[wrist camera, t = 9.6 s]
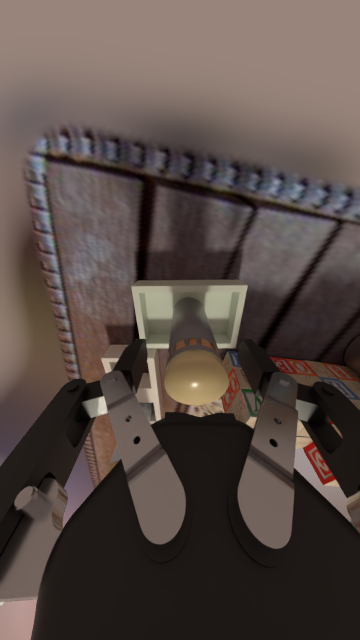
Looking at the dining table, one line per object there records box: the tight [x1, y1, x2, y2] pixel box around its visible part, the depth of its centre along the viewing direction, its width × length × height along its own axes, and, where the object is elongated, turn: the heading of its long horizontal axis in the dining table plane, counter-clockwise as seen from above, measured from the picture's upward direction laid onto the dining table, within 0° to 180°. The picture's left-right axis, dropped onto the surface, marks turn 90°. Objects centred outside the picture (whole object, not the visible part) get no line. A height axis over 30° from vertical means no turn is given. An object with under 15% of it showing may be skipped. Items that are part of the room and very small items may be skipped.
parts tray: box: [131, 279, 248, 348], centre depth 18 cm, size 12×8×3 cm, turn 91°
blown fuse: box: [165, 297, 229, 405], centre depth 14 cm, size 4×4×11 cm
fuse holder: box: [101, 345, 164, 424], centre depth 24 cm, size 7×15×3 cm, turn 1°
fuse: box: [106, 403, 153, 475], centre depth 23 cm, size 4×4×11 cm
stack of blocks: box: [221, 351, 360, 486], centre depth 19 cm, size 21×6×12 cm, turn 81°
